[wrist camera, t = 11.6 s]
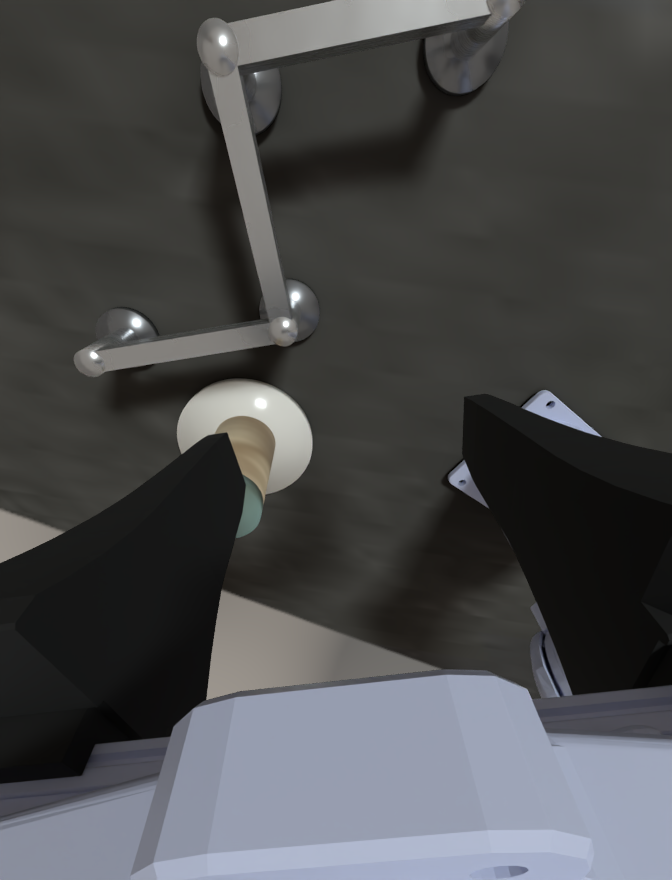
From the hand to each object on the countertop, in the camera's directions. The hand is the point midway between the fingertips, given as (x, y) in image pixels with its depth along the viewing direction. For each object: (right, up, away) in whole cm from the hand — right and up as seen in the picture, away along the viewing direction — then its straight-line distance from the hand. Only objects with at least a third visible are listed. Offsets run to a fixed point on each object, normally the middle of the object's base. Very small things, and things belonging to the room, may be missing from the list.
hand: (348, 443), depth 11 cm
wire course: (-3, +10, +6) cm, 12 cm away
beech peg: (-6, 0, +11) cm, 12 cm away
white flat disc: (-6, 0, +11) cm, 13 cm away
